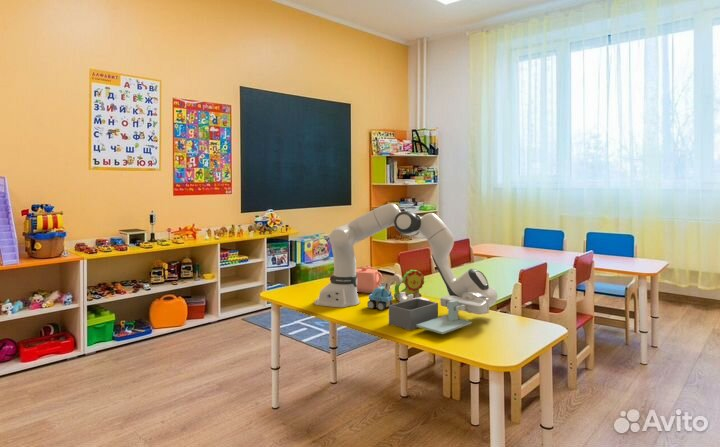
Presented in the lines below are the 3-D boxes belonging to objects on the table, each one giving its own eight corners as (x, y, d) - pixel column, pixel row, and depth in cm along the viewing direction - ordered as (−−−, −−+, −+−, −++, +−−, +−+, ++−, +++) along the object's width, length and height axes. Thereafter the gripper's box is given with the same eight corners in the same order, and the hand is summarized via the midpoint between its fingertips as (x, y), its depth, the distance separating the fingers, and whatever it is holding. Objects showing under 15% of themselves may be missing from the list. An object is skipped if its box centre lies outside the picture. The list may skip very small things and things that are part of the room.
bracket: (408, 311, 213) (408, 295, 212) (399, 307, 219) (399, 292, 218) (430, 307, 220) (430, 291, 219) (420, 304, 226) (420, 289, 225)
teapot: (386, 287, 263) (386, 263, 262) (379, 295, 244) (379, 269, 243) (353, 285, 268) (353, 262, 267) (343, 293, 249) (343, 268, 248)
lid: (416, 328, 181) (416, 304, 180) (445, 318, 194) (445, 296, 193) (442, 335, 171) (442, 311, 171) (471, 325, 184) (471, 302, 183)
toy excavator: (396, 313, 209) (396, 276, 207) (365, 308, 218) (365, 273, 216) (404, 309, 216) (404, 273, 215) (374, 304, 225) (374, 270, 223)
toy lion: (397, 301, 229) (397, 272, 228) (393, 299, 235) (393, 270, 233) (425, 299, 234) (425, 270, 233) (421, 296, 240) (421, 268, 238)
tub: (388, 323, 193) (388, 305, 192) (416, 315, 205) (416, 298, 204) (410, 330, 184) (410, 310, 183) (437, 321, 196) (438, 303, 195)
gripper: (451, 290, 202) (431, 296, 193) (492, 298, 187) (473, 305, 178) (451, 304, 202) (431, 310, 193) (492, 313, 187) (472, 320, 178)
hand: (451, 308), depth 185 cm, fingers closed on lid
